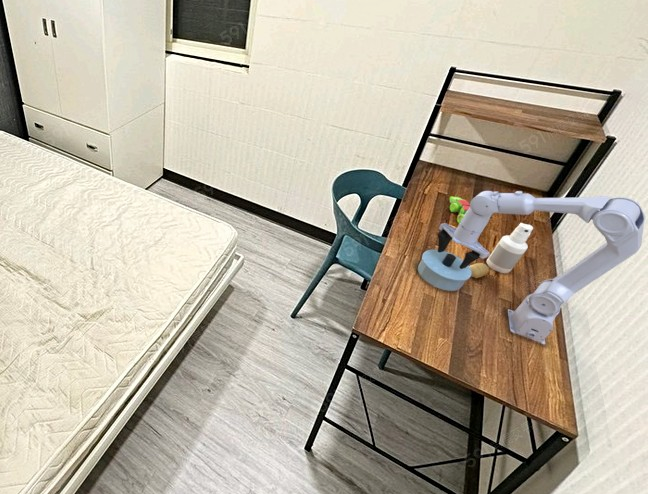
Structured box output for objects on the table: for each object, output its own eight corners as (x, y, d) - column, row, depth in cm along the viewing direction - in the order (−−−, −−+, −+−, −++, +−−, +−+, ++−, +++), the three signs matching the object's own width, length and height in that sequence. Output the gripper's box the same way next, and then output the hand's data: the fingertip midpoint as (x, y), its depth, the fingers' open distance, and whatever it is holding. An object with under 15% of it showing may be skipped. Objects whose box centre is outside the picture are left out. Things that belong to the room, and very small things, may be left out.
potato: (472, 281, 133) (478, 272, 131) (460, 272, 136) (466, 264, 134) (487, 276, 135) (493, 267, 133) (476, 267, 138) (481, 259, 136)
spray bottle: (487, 269, 137) (515, 228, 127) (484, 256, 142) (511, 216, 132) (512, 276, 135) (542, 235, 125) (508, 263, 140) (537, 223, 130)
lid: (470, 289, 124) (477, 278, 121) (420, 270, 129) (425, 260, 127) (469, 262, 133) (476, 252, 131) (422, 246, 139) (427, 236, 136)
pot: (461, 297, 127) (469, 286, 124) (415, 280, 132) (422, 269, 129) (461, 272, 136) (468, 261, 133) (418, 257, 141) (425, 246, 138)
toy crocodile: (443, 201, 169) (450, 189, 166) (461, 203, 168) (468, 191, 165) (463, 232, 153) (471, 219, 150) (483, 234, 152) (491, 222, 149)
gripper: (439, 215, 127) (422, 247, 134) (485, 245, 115) (463, 278, 123) (456, 210, 129) (438, 242, 136) (502, 240, 118) (480, 273, 125)
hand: (451, 259), depth 130 cm, fingers open, 7 cm apart
